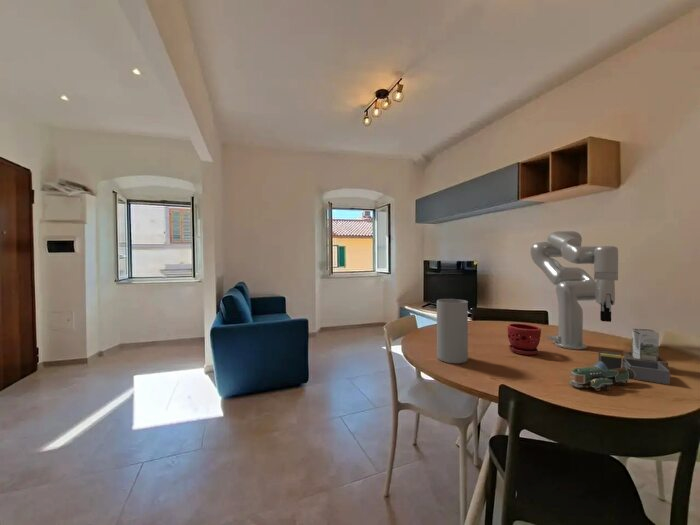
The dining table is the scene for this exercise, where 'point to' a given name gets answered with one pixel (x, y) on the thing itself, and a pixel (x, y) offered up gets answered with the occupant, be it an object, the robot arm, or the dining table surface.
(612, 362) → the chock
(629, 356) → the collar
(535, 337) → the plant pot
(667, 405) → the dining table surface
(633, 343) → the syrup box
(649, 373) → the tray
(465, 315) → the cylinder vase
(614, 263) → the robot arm
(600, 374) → the green toy hover car
